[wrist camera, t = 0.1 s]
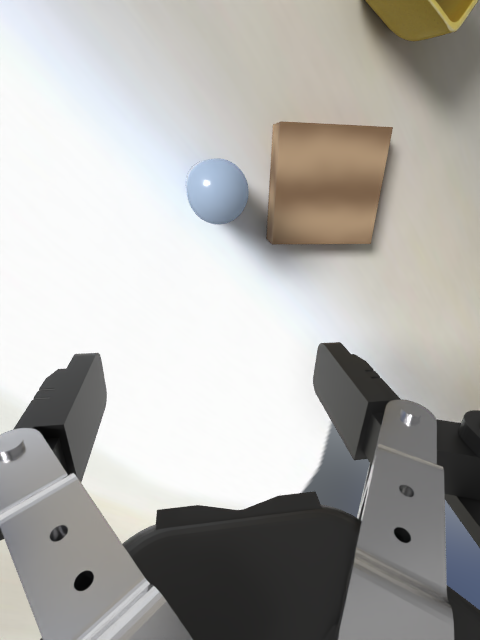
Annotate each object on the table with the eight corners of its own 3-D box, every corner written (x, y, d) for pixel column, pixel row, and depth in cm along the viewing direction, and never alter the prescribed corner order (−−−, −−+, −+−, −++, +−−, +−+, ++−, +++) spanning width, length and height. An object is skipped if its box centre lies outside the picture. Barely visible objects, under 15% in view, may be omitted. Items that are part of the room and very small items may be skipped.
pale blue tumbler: (184, 159, 35) (185, 157, 25) (229, 161, 36) (249, 159, 25) (186, 207, 37) (188, 224, 27) (229, 207, 38) (247, 224, 27)
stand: (273, 124, 35) (280, 121, 32) (377, 130, 37) (392, 127, 34) (266, 239, 40) (272, 244, 38) (358, 238, 42) (370, 243, 39)
